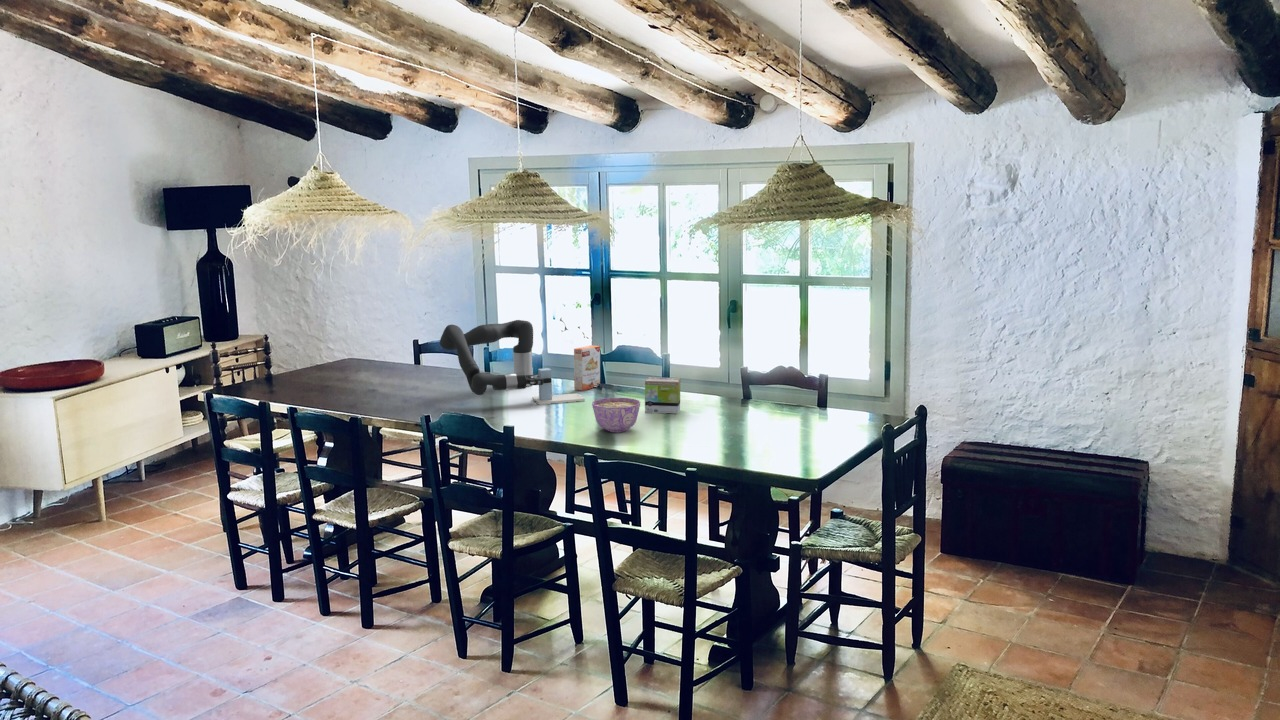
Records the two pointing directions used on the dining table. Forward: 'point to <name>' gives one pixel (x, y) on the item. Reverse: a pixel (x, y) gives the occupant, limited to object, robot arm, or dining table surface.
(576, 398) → the cream tile
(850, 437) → the dining table surface
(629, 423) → the bowl of food
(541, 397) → the blue block
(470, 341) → the robot arm
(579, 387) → the cracker box
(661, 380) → the tea box
